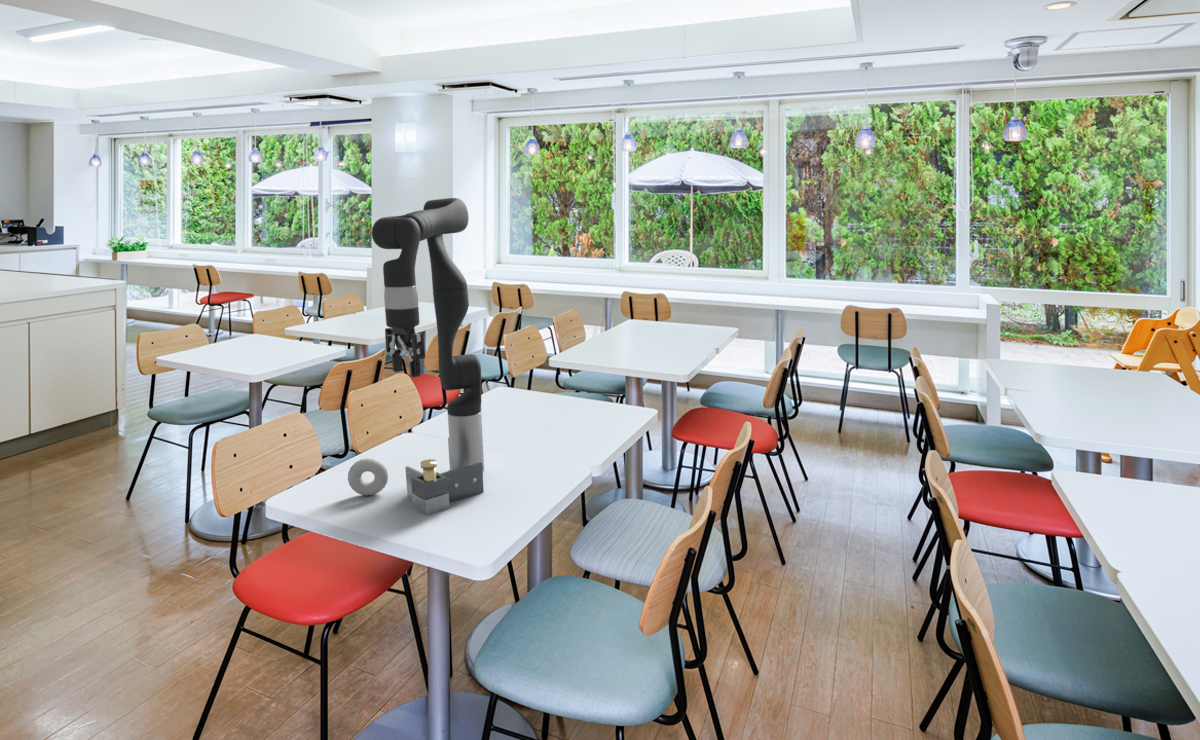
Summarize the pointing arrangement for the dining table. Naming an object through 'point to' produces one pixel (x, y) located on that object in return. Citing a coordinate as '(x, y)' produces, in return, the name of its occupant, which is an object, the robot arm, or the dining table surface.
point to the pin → (429, 469)
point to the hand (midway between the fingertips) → (406, 374)
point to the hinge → (443, 487)
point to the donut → (370, 466)
